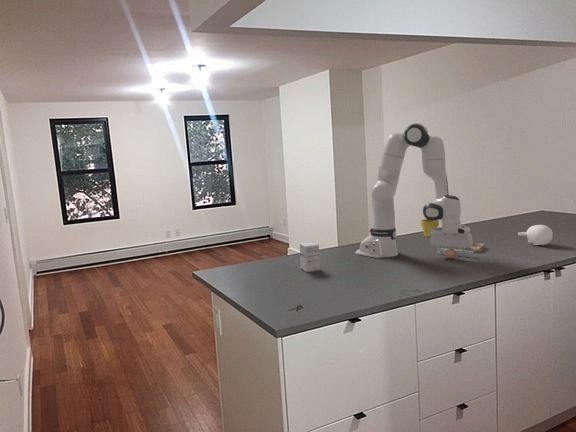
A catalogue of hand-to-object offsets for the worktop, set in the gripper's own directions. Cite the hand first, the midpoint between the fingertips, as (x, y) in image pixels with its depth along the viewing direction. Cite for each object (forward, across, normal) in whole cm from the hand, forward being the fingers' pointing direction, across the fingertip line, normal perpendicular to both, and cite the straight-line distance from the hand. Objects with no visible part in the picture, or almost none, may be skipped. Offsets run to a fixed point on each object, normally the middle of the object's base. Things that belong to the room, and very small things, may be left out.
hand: (450, 255), depth 239 cm
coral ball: (-1, 0, 0) cm, 1 cm away
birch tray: (+2, +3, +24) cm, 24 cm away
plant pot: (+2, -28, +49) cm, 56 cm away
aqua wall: (+2, 0, +7) cm, 7 cm away
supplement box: (+2, -52, -49) cm, 71 cm away
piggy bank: (+2, +31, +50) cm, 59 cm away
